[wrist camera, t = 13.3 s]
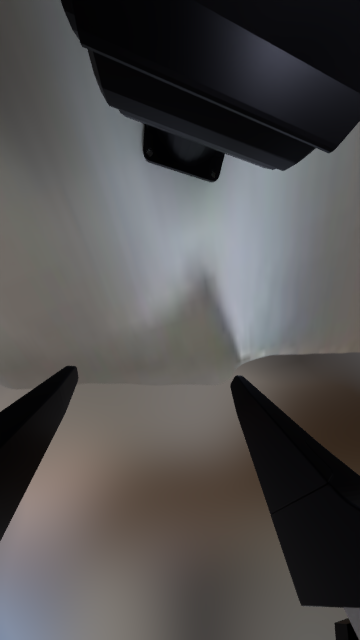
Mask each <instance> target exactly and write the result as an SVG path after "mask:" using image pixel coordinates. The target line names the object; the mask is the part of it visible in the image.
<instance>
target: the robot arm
mask: <svg viewBox="0 0 360 640" xmlns="http://www.w3.org/2000/svg"><path fill="white" fill-rule="evenodd" d="M61 3H62V6H63V9H64V11H65V14H66V16H67V18H68V20H69V23H70V25H71V27H72V30H73V31H74V33H75V34H76V36H77V37H78V39H79V40H80V43H81V45H82V47H84V48H87V49H88V53H89V57H90V60H91V64H92V68H93V71H94V75H95V77H96V80H97V82H98V85H99V88H100V90H101V92H102V94H103V96H104V98H105V100H106V101H107V103H108V105H109V106H111V107H114V108H117V109H119V111H120V113H121V114H123V115H124V116H125V117H128V118H130V119H133V120H136V121H139V122H141V123H144V124H145V130H144V145H143V154H144V157H145V159H146V160H147V161H148V162H150V163H153V164H156V165H159V166H162V167H165V168H168V169H171V170H174V171H178V172H181V173H184V174H187V175H190V176H193V177H196V178H199V179H202V180H205V181H209V182H215V181H216V180H217V179H218V178H219V175H220V171H221V167H222V163H223V159H224V155H225V154H228V155H231V156H233V157H236V158H239V159H241V160H244V161H247V162H250V163H252V164H255V165H258V166H260V167H263V168H267V169H272V170H274V169H279V170H282V171H284V170H286V169H288V168H290V167H292V166H293V165H295V164H297V163H298V162H299V161H301V160H302V159H303V158H305V157H306V156H307V155H308V154H310V153H311V152H312V151H313V150H314V149H316V148H318V149H320V150H322V151H324V152H327V153H331V152H332V151H334V150H335V149H336V148H337V147H338V146H339V144H340V143H341V142H342V141H343V140H344V139H345V137H346V136H347V135H348V134H349V133H350V132H351V130H352V129H353V128H354V127H355V126H356V125H357V124H358V122H359V121H360V0H61ZM148 150H151V151H152V152H153V154H152V156H150V157H149V156H148V155H147V151H148ZM212 171H214V172H215V178H213V177H212V176H211V172H212ZM77 382H78V372H77V367H76V366H66V367H64V368H63V369H61V370H60V371H59V372H57V373H56V374H54V375H53V376H51V377H50V378H49V379H47V380H46V381H44V382H43V383H41V384H40V385H38V386H37V387H36V388H34V389H33V390H31V391H30V392H28V393H27V394H25V395H24V396H23V397H21V398H20V399H18V400H17V401H15V402H14V403H13V404H11V405H10V406H8V407H7V408H5V409H4V410H2V411H1V412H0V541H1V539H2V537H3V535H4V533H5V531H6V529H7V527H8V525H9V523H10V521H11V519H12V517H13V515H14V513H15V511H16V509H17V507H18V505H19V503H20V501H21V499H22V497H23V495H24V493H25V492H26V490H27V488H28V486H29V484H30V482H31V480H32V478H33V476H34V474H35V472H36V470H37V468H38V466H39V464H40V462H41V460H42V458H43V456H44V454H45V452H46V450H47V448H48V446H49V444H50V442H51V440H52V438H53V436H54V434H55V432H56V431H57V428H58V426H59V425H60V423H61V421H62V419H63V417H64V415H65V413H66V410H67V408H68V405H69V402H70V400H71V397H72V395H73V392H74V389H75V387H76V384H77ZM231 391H232V396H233V399H234V404H235V408H236V412H237V416H238V419H239V421H240V425H241V428H242V430H243V434H244V437H245V440H246V443H247V445H248V448H249V452H250V455H251V458H252V461H253V463H254V466H255V469H256V472H257V475H258V478H259V481H260V484H261V487H262V490H263V493H264V496H265V499H266V502H267V505H268V508H269V511H270V514H271V517H272V520H273V524H274V527H275V529H276V532H277V535H278V538H279V541H280V544H281V548H282V550H283V553H284V556H285V559H286V562H287V565H288V568H289V571H290V574H291V577H292V580H293V583H294V586H295V589H296V592H297V595H298V598H299V601H300V603H301V605H302V606H316V607H343V608H344V610H345V612H346V614H347V616H348V618H347V619H345V620H342V621H338V622H336V623H335V634H336V640H360V476H359V475H358V474H357V473H355V472H354V471H353V470H352V469H350V468H349V467H348V466H347V465H345V464H344V463H343V462H342V461H340V460H339V459H338V458H337V457H335V456H334V455H333V454H331V453H330V452H329V451H328V450H327V449H325V448H324V447H323V446H322V445H321V444H319V443H318V442H317V441H316V440H315V439H313V438H312V437H311V436H310V435H309V434H308V433H307V432H306V431H304V430H303V429H302V428H301V427H300V426H299V425H298V424H296V423H295V422H294V421H293V420H292V419H291V418H290V417H288V416H287V415H286V414H285V413H284V412H283V411H282V410H281V409H279V408H278V407H277V406H276V405H275V404H274V403H273V402H271V401H270V400H269V399H268V398H267V397H266V396H265V395H264V394H262V393H261V392H260V391H259V390H258V389H257V388H256V387H254V386H253V385H252V384H251V383H250V382H249V381H248V380H246V379H245V378H244V377H243V376H238V375H237V376H235V377H234V379H233V381H232V383H231Z"/></svg>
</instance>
